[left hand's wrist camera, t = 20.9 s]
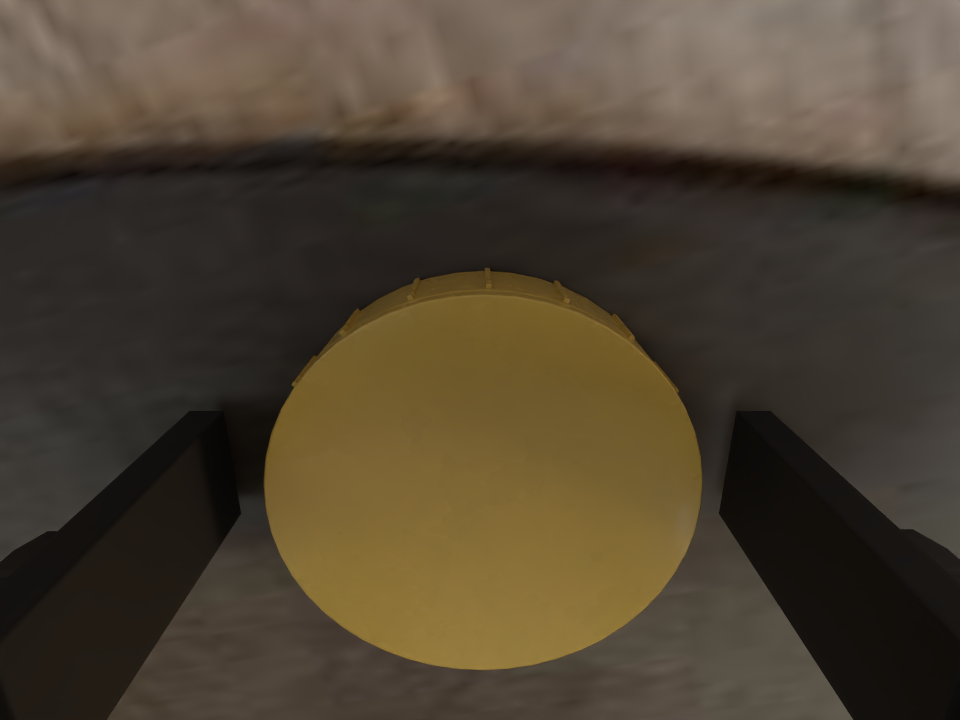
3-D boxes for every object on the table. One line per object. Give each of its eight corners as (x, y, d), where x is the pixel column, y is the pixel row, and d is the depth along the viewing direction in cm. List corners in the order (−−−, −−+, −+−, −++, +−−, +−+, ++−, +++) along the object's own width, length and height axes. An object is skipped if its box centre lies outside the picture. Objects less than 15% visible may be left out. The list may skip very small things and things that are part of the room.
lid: (392, 644, 16) (380, 716, 14) (217, 360, 13) (169, 399, 11) (713, 539, 15) (750, 601, 13) (601, 200, 12) (627, 211, 10)
